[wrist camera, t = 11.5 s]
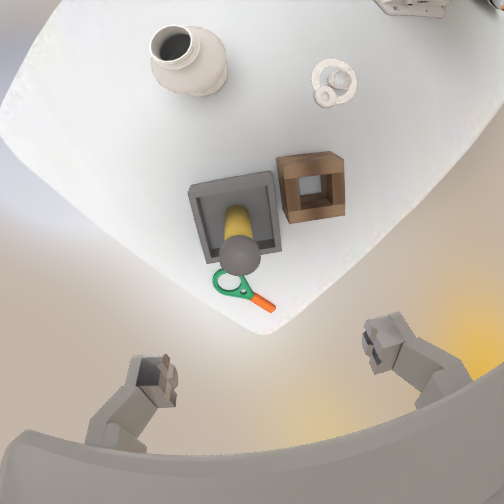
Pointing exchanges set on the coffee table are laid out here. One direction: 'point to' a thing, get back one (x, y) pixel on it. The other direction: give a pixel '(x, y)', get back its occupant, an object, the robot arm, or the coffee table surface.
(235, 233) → the peg
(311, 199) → the holder
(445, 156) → the coffee table surface
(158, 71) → the water bottle
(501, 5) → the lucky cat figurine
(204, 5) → the coffee table surface
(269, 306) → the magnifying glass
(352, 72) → the teacup and saucer
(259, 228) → the tray
